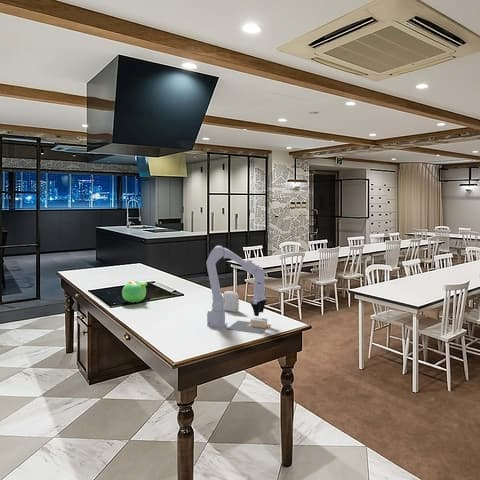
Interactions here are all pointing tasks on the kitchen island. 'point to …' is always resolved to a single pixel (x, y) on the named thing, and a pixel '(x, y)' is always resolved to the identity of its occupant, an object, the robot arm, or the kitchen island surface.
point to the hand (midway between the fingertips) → (258, 314)
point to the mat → (247, 327)
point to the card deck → (258, 322)
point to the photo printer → (231, 301)
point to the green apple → (134, 291)
